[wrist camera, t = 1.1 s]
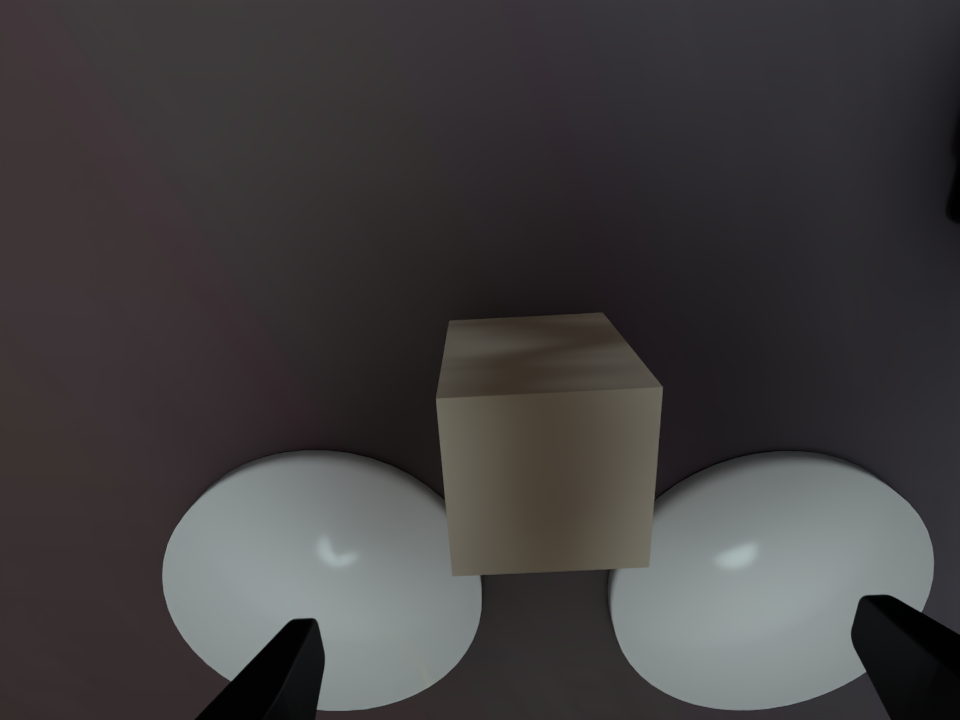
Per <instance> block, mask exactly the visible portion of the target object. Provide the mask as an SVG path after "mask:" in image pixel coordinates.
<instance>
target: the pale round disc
mask: <svg viewBox="0 0 960 720" xmlns="http://www.w3.org/2000/svg"><path fill="white" fill-rule="evenodd" d="M162 578H163V589H164V595H165V599H166V603H167V606H168V609H169V612H170V614H171V616H172V619H173V621H174V623H175V625H176V627H177V628H178V630H179V632H180V633H181V635H182V636H183V638H184V639H185V641H186V642H187V643H188V644H189V645H190V647H191V648H192V649H193V650H194V652H195V653H196V654H197V655H198V656H199V657H201V658H202V659H203V660H204V661H205V662H206V663H207V664H208V665H209V666H210V667H212V668H213V669H214V670H216V671H217V672H218V673H219V674H221V675H222V676H224V677H225V678H227V679H228V680H230V681H232V680H233V679H234V678H235V677H236V676H237V675H238V674H239V673H240V672H241V671H242V670H243V669H244V667H245V666H246V665H247V664H248V663H249V662H250V661H251V660H252V659H253V658H254V657H255V656H256V655H257V654H258V653H259V652H260V651H261V650H262V649H263V648H264V647H265V646H266V645H267V643H268V642H269V641H270V640H271V639H272V638H273V637H274V636H275V635H276V634H277V633H278V632H279V631H280V630H281V629H282V628H283V627H284V626H285V625H286V624H287V623H288V622H289V621H290V620H292V619H296V618H315V619H316V620H317V622H318V624H319V629H320V633H321V638H322V642H323V647H324V652H325V667H324V673H323V679H322V684H321V689H320V695H319V700H318V705H317V710H327V711H349V710H360V709H368V708H373V707H379V706H384V705H387V704H391V703H394V702H397V701H401V700H403V699H405V698H408V697H410V696H413V695H415V694H417V693H419V692H421V691H423V690H424V689H426V688H428V687H430V686H431V685H433V684H434V683H436V682H437V681H438V680H440V679H441V678H443V677H444V676H445V675H446V674H447V673H448V672H449V671H450V670H451V669H452V668H453V667H455V666H456V664H457V663H458V662H459V661H460V659H461V658H462V657H463V656H464V654H465V653H466V651H467V649H468V648H469V646H470V644H471V642H472V641H473V639H474V636H475V633H476V630H477V628H478V625H479V620H480V615H481V604H482V578H481V575H473V576H452V568H451V557H450V546H449V536H448V525H447V514H446V503H445V500H444V499H443V498H442V497H440V496H439V495H438V494H437V493H436V492H434V491H433V490H432V489H431V488H430V487H428V486H427V485H425V484H424V483H422V482H421V481H419V480H418V479H416V478H415V477H413V476H412V475H410V474H408V473H406V472H404V471H402V470H400V469H398V468H396V467H394V466H392V465H389V464H386V463H383V462H381V461H378V460H375V459H372V458H369V457H364V456H360V455H356V454H352V453H346V452H338V451H329V450H301V451H291V452H283V453H279V454H274V455H270V456H266V457H262V458H259V459H257V460H254V461H251V462H248V463H246V464H243V465H241V466H240V467H238V468H236V469H234V470H232V471H230V472H228V473H227V474H225V475H224V476H222V477H221V478H220V479H218V480H217V481H216V482H214V483H213V484H212V485H211V486H210V487H209V488H208V489H207V490H206V491H205V492H204V493H203V494H202V495H201V496H200V497H199V498H198V499H197V500H196V502H195V503H194V504H193V505H192V507H191V508H190V509H189V510H188V511H187V513H186V514H185V515H184V517H183V518H182V519H181V521H180V522H179V524H178V525H177V527H176V528H175V530H174V532H173V534H172V536H171V538H170V540H169V543H168V545H167V549H166V553H165V557H164V562H163V574H162Z"/></svg>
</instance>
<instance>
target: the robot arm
mask: <svg viewBox="0 0 960 720" xmlns="http://www.w3.org/2000/svg"><path fill="white" fill-rule="evenodd" d="M951 216H952V219H953V220H954V221H955V222H957V223H960V175H959V179H958V182H957V186H956V190H955V194H954V198H953V202H952V206H951ZM851 640H852V644H853V647H854V649H855V651H856V653H857V655H858V657H859V659H860V661H861V663H862V664H863V666H864V668H865V670H866V672H867V674H868V676H869V678H870V680H871V682H872V684H873V686H874V688H875V690H876V692H877V693H878V695H879V697H880V699H881V701H882V703H883V705H884V707H885V709H886V711H887V713H888V715H889V717H890V719H891V720H960V635H959V634H957V633H956V632H954V631H952V630H951V629H949V628H947V627H945V626H944V625H942V624H940V623H939V622H937V621H935V620H933V619H932V618H930V617H928V616H926V615H925V614H923V613H921V612H920V611H918V610H916V609H914V608H913V607H911V606H909V605H908V604H906V603H904V602H902V601H901V600H899V599H897V598H895V597H893V596H891V595H886V594H880V595H865V596H863V597H861V598H860V600H859V602H858V606H857V609H856V613H855V617H854V621H853V624H852V628H851ZM324 667H325V652H324V647H323V642H322V638H321V633H320V629H319V624H318V622H317V620H316V619H315V618H296V619H292V620H290V621H289V622H288V623H287V624H286V625H285V626H284V627H283V628H282V629H281V630H280V631H279V632H278V633H277V634H276V635H275V636H274V637H273V638H272V639H271V640H270V641H269V642H268V643H267V645H266V646H265V647H264V648H263V649H262V650H261V651H260V652H259V653H258V654H257V655H256V656H255V657H254V658H253V659H252V660H251V661H250V662H249V663H248V664H247V665H246V666H245V667H244V669H243V670H242V671H241V672H240V673H239V674H238V675H237V676H236V677H235V678H234V679H233V680H232V681H231V682H230V683H229V684H228V685H227V686H226V687H225V688H224V689H223V690H222V692H221V693H220V694H219V695H218V696H217V697H216V698H215V699H214V700H213V701H212V702H211V703H210V704H209V705H208V706H207V707H206V708H205V709H204V710H203V711H202V712H201V713H200V714H199V716H198V717H197V718H196V719H195V720H315V716H316V711H317V705H318V700H319V695H320V689H321V684H322V679H323V673H324Z"/></svg>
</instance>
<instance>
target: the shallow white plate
mask: <svg viewBox="0 0 960 720" xmlns="http://www.w3.org/2000/svg"><path fill="white" fill-rule="evenodd" d="M933 569H934V557H933V549H932V544H931V540H930V537H929V534H928V531H927V529H926V527H925V525H924V523H923V522H922V520H921V518H920V516H919V515H918V514H917V512H916V511H915V510H914V509H913V508H912V506H911V505H910V504H909V503H908V502H907V501H906V500H905V499H903V498H902V497H901V496H900V495H899V494H898V493H896V492H895V491H894V490H893V489H892V488H890V487H889V486H888V485H887V484H885V483H884V482H883V481H882V480H880V479H879V478H878V477H877V476H875V475H874V474H872V473H870V472H869V471H867V470H865V469H864V468H862V467H860V466H858V465H856V464H853V463H851V462H849V461H846V460H844V459H841V458H837V457H833V456H829V455H826V454H821V453H813V452H805V451H774V452H764V453H756V454H752V455H747V456H742V457H738V458H734V459H731V460H728V461H725V462H722V463H719V464H716V465H713V466H711V467H709V468H706V469H704V470H702V471H700V472H697V473H695V474H693V475H691V476H690V477H688V478H686V479H685V480H683V481H681V482H679V483H678V484H676V485H674V486H673V487H672V488H670V489H669V490H668V491H666V492H665V493H664V494H662V495H661V496H660V497H658V498H657V499H656V500H655V501H654V511H653V524H652V537H651V550H650V563H649V567H646V568H624V569H610V571H609V577H608V585H607V598H608V607H609V611H610V616H611V620H612V623H613V626H614V630H615V633H616V637H617V640H618V642H619V644H620V647H621V649H622V652H623V653H624V655H625V656H626V658H627V660H628V661H629V663H630V664H631V665H632V666H633V668H634V669H635V670H636V671H637V672H638V673H639V674H640V675H641V676H642V677H643V678H644V679H646V680H647V681H648V682H649V683H650V684H652V685H653V686H655V687H656V688H658V689H660V690H661V691H663V692H665V693H666V694H669V695H671V696H673V697H675V698H678V699H680V700H683V701H686V702H689V703H692V704H695V705H700V706H705V707H710V708H716V709H726V710H757V709H769V708H775V707H780V706H786V705H791V704H794V703H798V702H802V701H806V700H809V699H812V698H814V697H817V696H820V695H823V694H825V693H828V692H830V691H832V690H834V689H836V688H839V687H841V686H843V685H845V684H847V683H848V682H850V681H852V680H854V679H855V678H857V677H859V676H860V675H862V674H863V673H865V672H866V670H865V668H864V666H863V664H862V663H861V661H860V659H859V657H858V655H857V653H856V651H855V649H854V647H853V644H852V640H851V628H852V624H853V621H854V617H855V613H856V609H857V606H858V602H859V600H860V598H861V597H863V596H865V595H880V594H886V595H891V596H893V597H895V598H897V599H899V600H901V601H902V602H904V603H906V604H908V605H909V606H911V607H913V608H914V609H916V610H918V611H920V612H922V610H923V608H924V605H925V603H926V600H927V598H928V595H929V592H930V588H931V584H932V580H933Z"/></svg>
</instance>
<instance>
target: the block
mask: <svg viewBox="0 0 960 720" xmlns="http://www.w3.org/2000/svg"><path fill="white" fill-rule="evenodd" d="M662 394H663V386H662V385H661V384H660V383H659V381H658V380H657V379H656V378H655V377H654V375H653V374H652V373H651V372H650V370H649V369H648V368H647V367H646V365H645V364H644V363H643V362H642V360H641V359H640V358H639V357H638V356H637V354H636V353H635V352H634V351H633V349H632V348H631V347H630V346H629V344H628V343H627V342H626V341H625V339H624V338H623V337H622V336H621V334H620V333H619V332H618V331H617V330H616V328H615V327H614V326H613V325H612V323H611V322H610V321H609V320H608V318H607V317H606V316H605V315H604V313H584V314H566V315H547V316H528V317H509V318H490V319H471V320H452V321H449V324H448V330H447V336H446V342H445V348H444V354H443V360H442V366H441V371H440V377H439V383H438V389H437V395H436V406H437V416H438V427H439V438H440V449H441V460H442V471H443V481H444V492H445V503H446V514H447V525H448V536H449V546H450V557H451V568H452V576H473V575H494V574H516V573H538V572H559V571H581V570H602V569H624V568H646V567H649V563H650V550H651V537H652V524H653V511H654V498H655V485H656V472H657V459H658V446H659V433H660V420H661V407H662Z"/></svg>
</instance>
